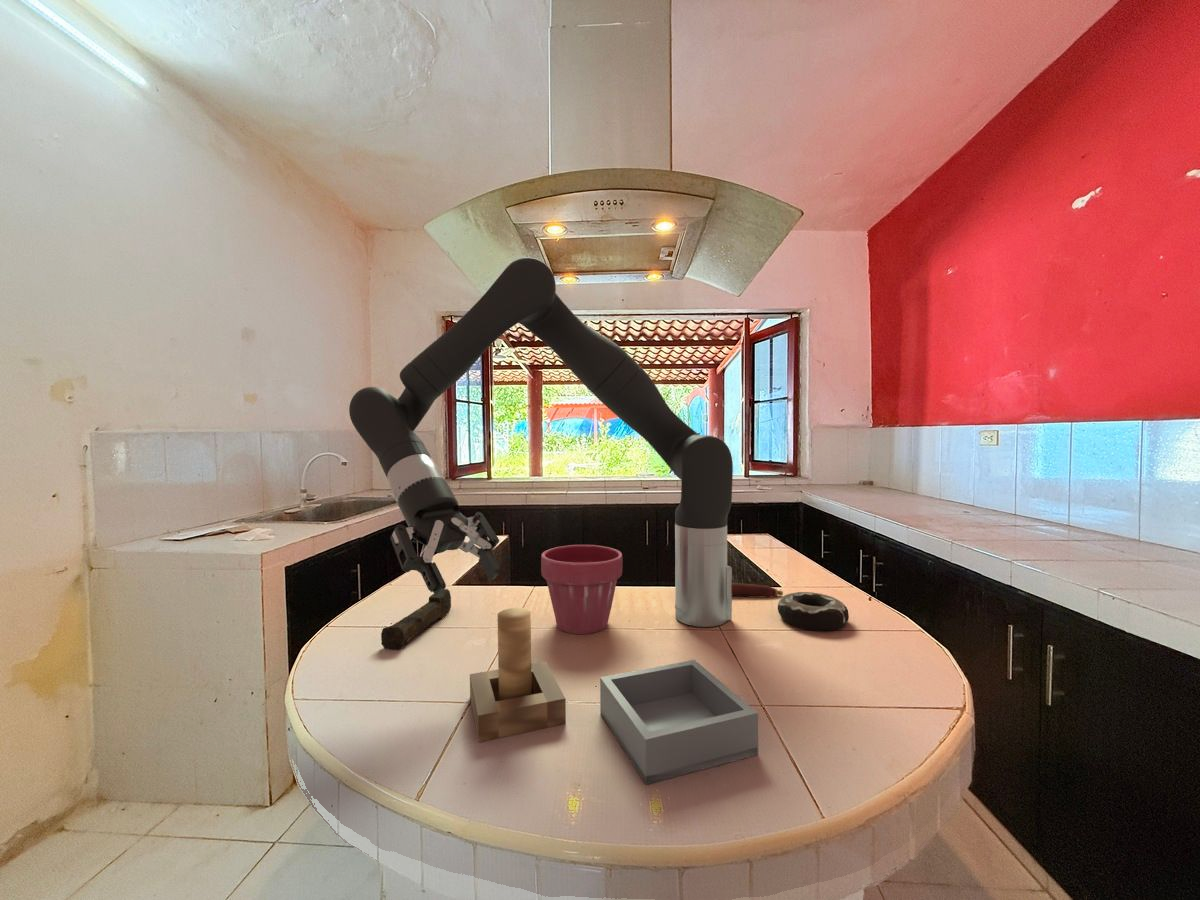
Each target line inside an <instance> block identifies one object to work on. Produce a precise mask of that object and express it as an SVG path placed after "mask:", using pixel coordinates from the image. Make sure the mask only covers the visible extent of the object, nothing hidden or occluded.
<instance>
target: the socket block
mask: <svg viewBox="0 0 1200 900" xmlns="http://www.w3.org/2000/svg"><path fill="white" fill-rule="evenodd" d="M531 672H532V695H528V696H523V697H517V698H512V699H507V700H501V701H499V673H498V669H492V670H487V671H481V672H476V673H475V672H473V673H470V674H469V698H470V702H471V704H470V705H471V708H472V714H473V721H474V723H475V725H474V726H475V730H476V735H477V741H478V743H481V742H486V741H491V740H494V739H499V738H503V737H504V738H505V737H509V736H515V735H518V734H522V733H523V734H524V733H527V732H533V731H537V730H542V729H546V728H550V727H551V728H552V727H556V726H561V725H565V724H566V723H567V719H566V717H567V715H566V714H567V713H566V704H567V703H566V700H567V699H566V697H565V695H564V692H563V691H562V689H561V688H560V686H559V684H558V682H557V680H556V678H555V677H554V674H553V673H552V671H551V669H550V667H549V665H548V664H547V662H546V661H541V662H535V663H531ZM541 728H542V729H541Z"/></svg>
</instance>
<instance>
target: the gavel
mask: <svg viewBox="0 0 1200 900" xmlns="http://www.w3.org/2000/svg"><path fill="white" fill-rule="evenodd" d="M732 596H735V597H736V596H737V597H748V596H764V597H763V598H771V597H770V596H774V597H777V596H784V591H783V590H781V589H780V590H778V589H777V588H775V587H772V586H769V585H765V584H753V583H742V582H741V583H740V582H732ZM765 596H766V597H765Z"/></svg>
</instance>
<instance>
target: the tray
mask: <svg viewBox="0 0 1200 900" xmlns="http://www.w3.org/2000/svg"><path fill="white" fill-rule="evenodd" d="M599 680H600V681H599V685H600V686H599V687H600V688H599V692H600V696H599V698H600V702H599V703H600V711H599V712H600V715H601V717H602V718H603V720H604V721H605V723H606V725H607V726H608V728H609V729H610V732H611V733H612V732H613V733H612V734H613V736H614V737H615V739H616V741H617V742H618V744H619V745H620V747H621V748H622V750H623V752H624V753H625V755H626V757H627V758H628V760H629V761H630V763H631V764H632V765H633V767H634V768H635V770H636V772H637V774H638V775H639V777H640V778H641V780H642V781H643V783H644V784H645V785H646V786H647V785H651V784H654V783H658V782H661V781H666V780H669V779H673V778H677V777H680V776H684V775H687V774H691V773H695V772H699V771H702V770H706V769H710V768H713V767H716V766H717V767H718V766H720V765H724V764H725V765H726V764H729V763H731V762H736V761H739V760H743V759H747V758H750V757H754V756H755V757H756V756H758V755H759V712H758V711H756V709H754V708H753V707H752V706H751V705H749V703H747V702H746V701H745V700H743V699H742V698H741V697H740V696H739V695H737V693H735V692H734V691H733V690H731V689H730V688H729V687H728V686H726V684H724V683H723V682H722V681H720V680H719V679H718V678H717V677H716V676H715V675H713V674H712V673H711V672H710V671H709V670H708V669H706V668H705V667H704V666H703V665H702V664H700V663H699V662H698V661H697V660H696V659H692V660H691V659H690V660H687V661H681V662H676V663H670V664H665V665H658V666H654V667H648V668H643V669H638V670H633V671H626V672H622V673H615V674H611V675H605V676H600V677H599Z"/></svg>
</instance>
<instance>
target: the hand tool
mask: <svg viewBox="0 0 1200 900" xmlns="http://www.w3.org/2000/svg"><path fill="white" fill-rule="evenodd" d="M428 597H429V598H428V602H426V603H425V604H424V605H422V606H421V607H419V608H417V609H416V610H414V611H413V612H411V613H410V614H408V615H407V616H405V617H403V618H402V619H400V620H399V621H397V622H395V623H394V624H392V625H391V626H387V627H383V629H381V633H380V640H381V645H382V647H383V649H385V650H391V651H400V650H401V649H403V647H404V646H407V644H408V641H410V640H411V639H412V638H414V637H415V636H416V635H417V634H419V633H420V632H421V631H423V630H425V628H427V627H429V626H430V625H431V624H432V623H434V622H435V621H440V620H439V619H441V620H443V619H444V618H445V617H446V616H447V615H448V614H449V612H450V611H451V609H450V608H452V596H451V591H450V590H449V589H448V588H445V589H444V591H443V592H442V594H439V595H434V593H433V594H431V595H430V596H428ZM449 610H450V611H449ZM447 613H448V614H447ZM446 614H447V615H446ZM444 616H445V617H444ZM443 617H444V618H443ZM442 618H443V619H442Z"/></svg>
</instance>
